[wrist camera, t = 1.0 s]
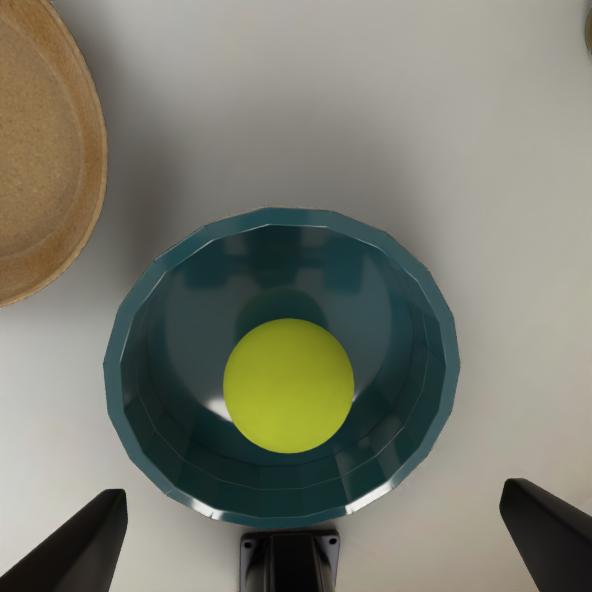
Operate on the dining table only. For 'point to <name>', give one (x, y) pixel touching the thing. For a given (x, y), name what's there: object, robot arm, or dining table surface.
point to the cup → (589, 31)
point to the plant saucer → (45, 149)
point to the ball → (288, 385)
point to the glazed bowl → (256, 311)
